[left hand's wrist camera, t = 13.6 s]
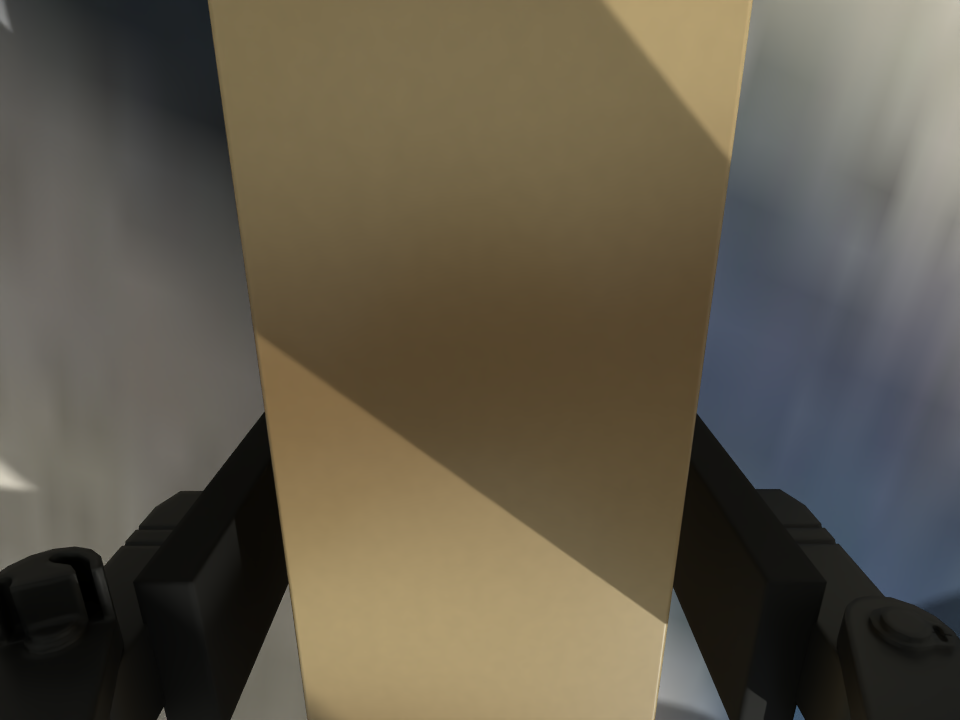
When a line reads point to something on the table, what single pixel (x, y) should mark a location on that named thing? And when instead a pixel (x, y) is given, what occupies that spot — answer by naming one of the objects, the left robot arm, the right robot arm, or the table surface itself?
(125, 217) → the table surface
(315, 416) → the oak plank
